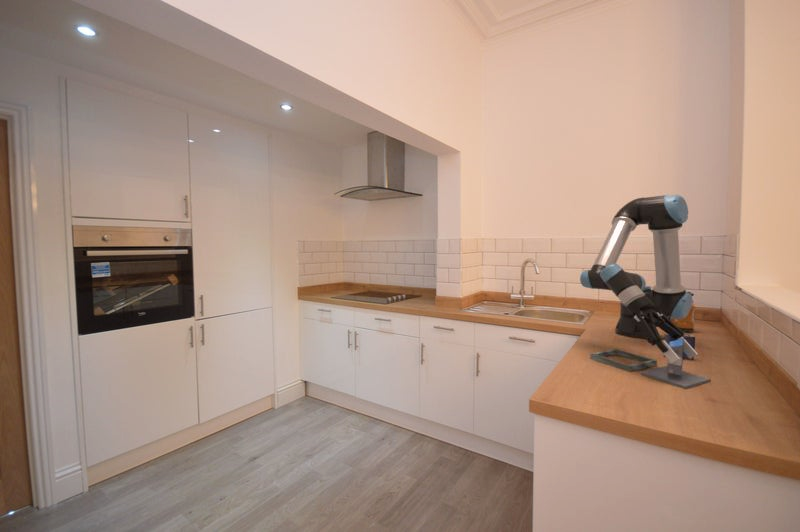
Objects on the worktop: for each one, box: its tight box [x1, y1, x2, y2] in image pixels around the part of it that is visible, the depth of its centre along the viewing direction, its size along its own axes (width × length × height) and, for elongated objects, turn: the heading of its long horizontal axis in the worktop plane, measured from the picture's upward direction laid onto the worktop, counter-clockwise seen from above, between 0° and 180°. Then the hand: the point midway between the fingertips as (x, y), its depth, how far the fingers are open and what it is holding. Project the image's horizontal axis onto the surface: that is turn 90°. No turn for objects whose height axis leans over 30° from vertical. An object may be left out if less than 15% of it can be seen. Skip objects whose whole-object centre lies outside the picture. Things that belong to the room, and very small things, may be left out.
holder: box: [589, 348, 658, 372], centre depth 129 cm, size 15×15×2 cm
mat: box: [640, 365, 712, 390], centre depth 114 cm, size 14×13×1 cm
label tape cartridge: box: [666, 332, 686, 376], centre depth 114 cm, size 9×4×12 cm, turn 141°
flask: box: [663, 333, 696, 361], centre depth 134 cm, size 9×3×11 cm, turn 65°
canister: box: [668, 291, 696, 333], centre depth 175 cm, size 9×11×20 cm
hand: (685, 358), depth 111 cm, fingers closed on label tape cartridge, 9 cm apart
